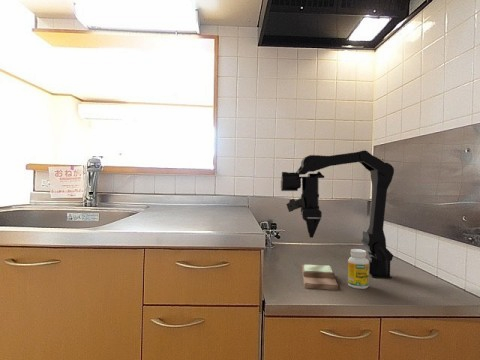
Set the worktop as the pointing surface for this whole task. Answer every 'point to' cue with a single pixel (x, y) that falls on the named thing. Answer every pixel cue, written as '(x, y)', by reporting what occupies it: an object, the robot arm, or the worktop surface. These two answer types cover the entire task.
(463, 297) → the worktop surface
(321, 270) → the step stand
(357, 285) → the supplement bottle
